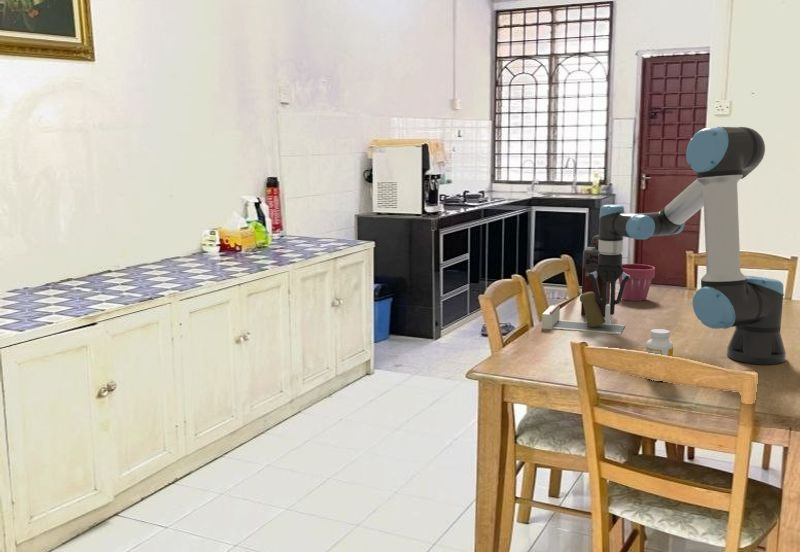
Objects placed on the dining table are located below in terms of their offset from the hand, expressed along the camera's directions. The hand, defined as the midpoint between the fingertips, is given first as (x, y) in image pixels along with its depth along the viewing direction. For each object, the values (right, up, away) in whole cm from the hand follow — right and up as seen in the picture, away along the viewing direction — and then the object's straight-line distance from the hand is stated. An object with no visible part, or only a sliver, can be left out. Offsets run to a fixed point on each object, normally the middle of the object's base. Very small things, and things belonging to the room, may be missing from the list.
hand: (607, 324), depth 259 cm
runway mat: (-6, -1, +2) cm, 6 cm away
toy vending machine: (+1, +2, +21) cm, 21 cm away
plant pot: (+22, +7, +46) cm, 52 cm away
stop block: (-17, -1, +7) cm, 19 cm away
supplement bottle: (-1, -11, -53) cm, 54 cm away
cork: (-3, 0, +1) cm, 4 cm away
